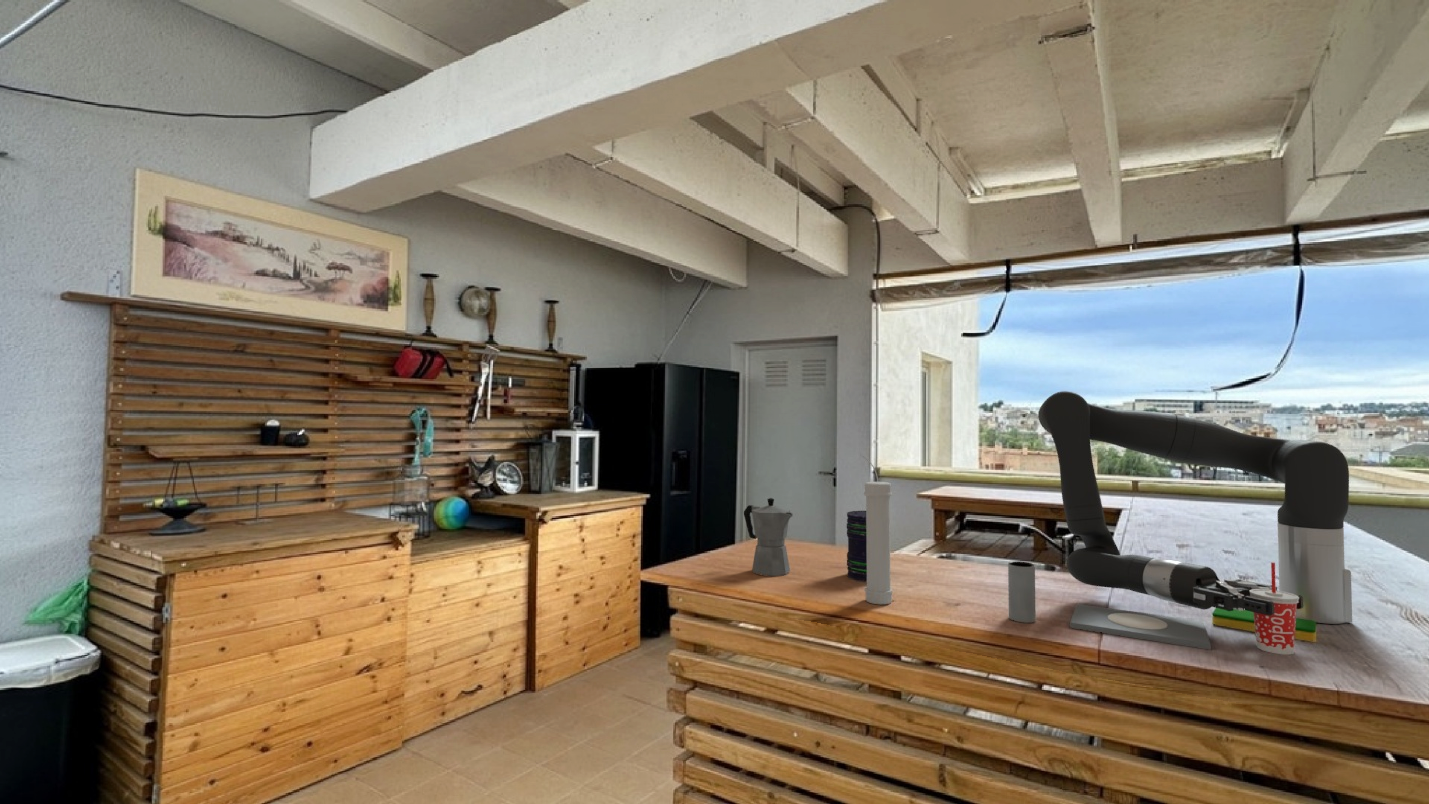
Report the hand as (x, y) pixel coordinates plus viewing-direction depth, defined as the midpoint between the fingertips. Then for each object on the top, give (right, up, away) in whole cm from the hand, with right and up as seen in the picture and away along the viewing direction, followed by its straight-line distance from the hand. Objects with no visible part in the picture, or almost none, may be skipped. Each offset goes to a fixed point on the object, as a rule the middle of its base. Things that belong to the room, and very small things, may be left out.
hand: (1288, 605), depth 104 cm
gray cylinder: (-34, -8, +17) cm, 39 cm away
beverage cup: (-1, -8, +2) cm, 8 cm away
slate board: (-16, -8, +13) cm, 22 cm away
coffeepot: (-79, -9, +56) cm, 97 cm away
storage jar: (-55, -9, +50) cm, 75 cm away
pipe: (-58, -8, +29) cm, 66 cm away
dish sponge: (+7, -9, +12) cm, 16 cm away
